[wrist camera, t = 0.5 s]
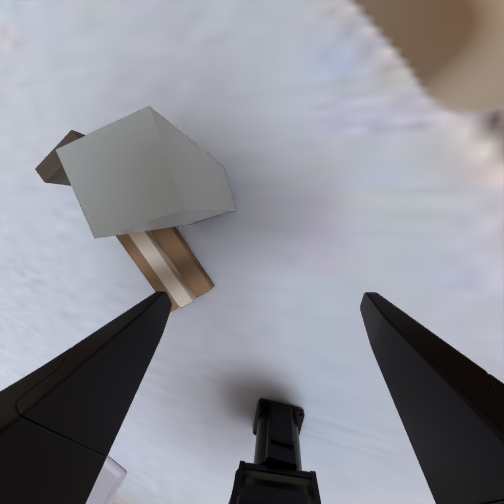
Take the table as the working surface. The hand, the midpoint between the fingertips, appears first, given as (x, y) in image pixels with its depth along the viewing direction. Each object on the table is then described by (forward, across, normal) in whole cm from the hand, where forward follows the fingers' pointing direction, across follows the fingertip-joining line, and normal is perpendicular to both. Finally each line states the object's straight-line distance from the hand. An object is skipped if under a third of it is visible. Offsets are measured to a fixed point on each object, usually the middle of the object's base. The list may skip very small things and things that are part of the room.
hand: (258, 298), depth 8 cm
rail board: (+13, +15, +3) cm, 21 cm away
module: (+15, +7, -1) cm, 17 cm away
